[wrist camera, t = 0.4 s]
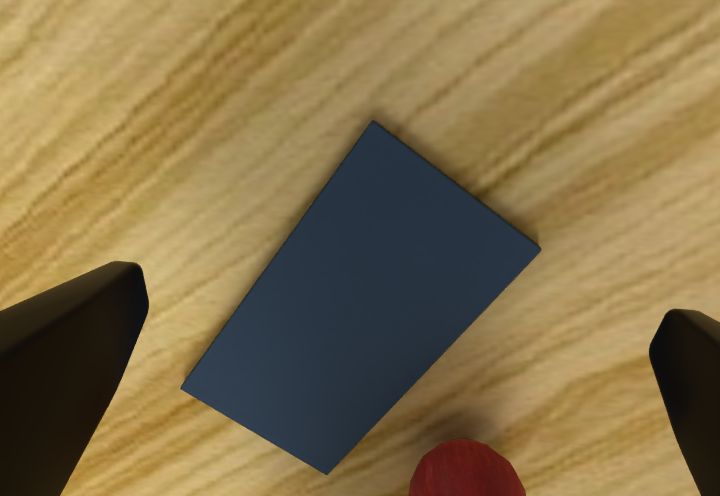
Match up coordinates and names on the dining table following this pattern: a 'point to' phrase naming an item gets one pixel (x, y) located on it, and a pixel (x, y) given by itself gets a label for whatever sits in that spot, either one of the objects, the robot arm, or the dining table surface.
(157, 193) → the dining table surface
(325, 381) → the mat
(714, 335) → the robot arm
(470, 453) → the onion
